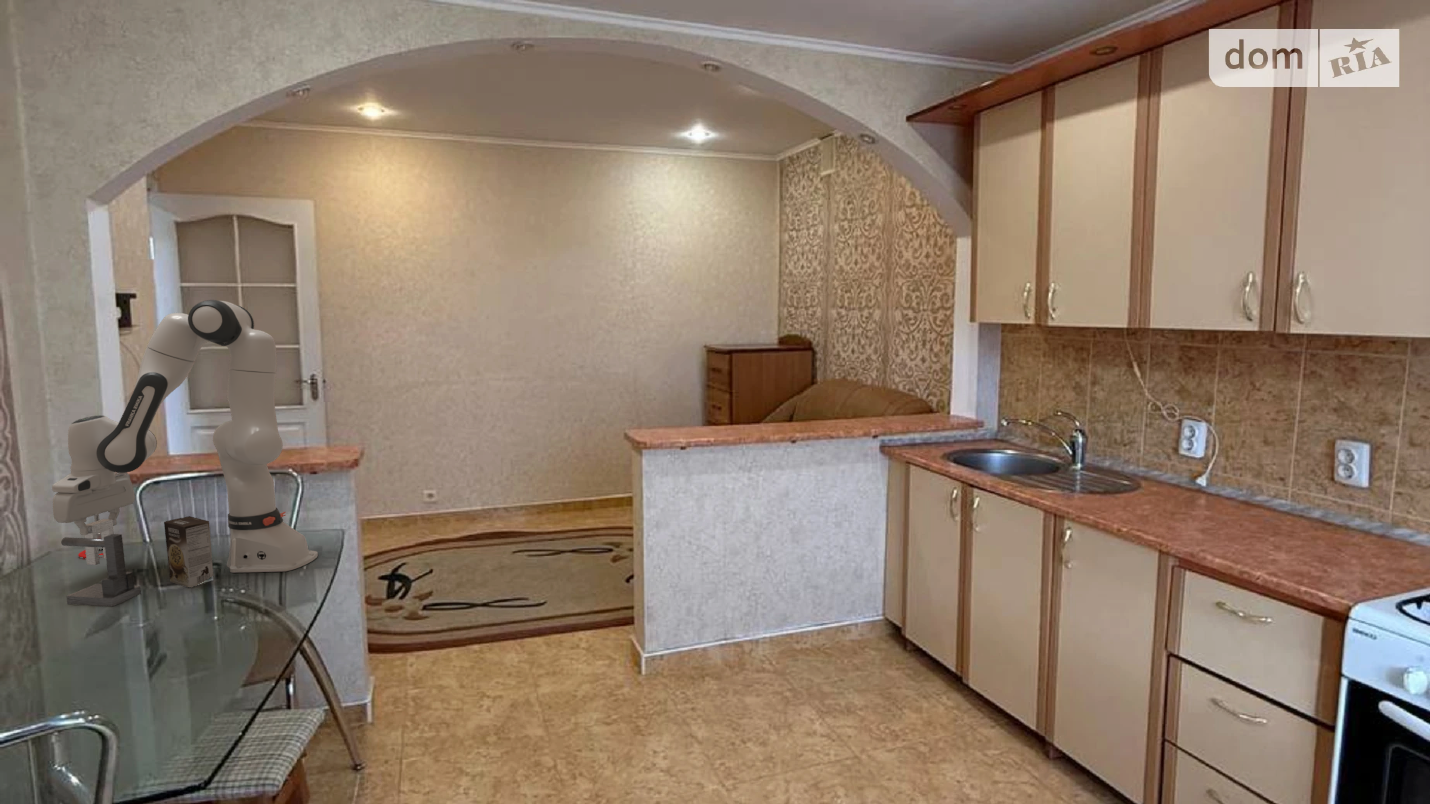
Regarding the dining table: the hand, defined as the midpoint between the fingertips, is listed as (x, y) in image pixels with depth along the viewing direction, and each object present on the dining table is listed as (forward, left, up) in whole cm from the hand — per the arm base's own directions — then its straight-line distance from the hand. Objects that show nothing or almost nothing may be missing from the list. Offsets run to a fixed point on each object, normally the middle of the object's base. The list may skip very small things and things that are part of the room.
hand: (98, 530), depth 202 cm
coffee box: (-27, +2, -12) cm, 30 cm away
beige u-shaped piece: (0, 0, -8) cm, 8 cm away
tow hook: (+16, -14, -12) cm, 24 cm away
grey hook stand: (-14, +15, -12) cm, 24 cm away
